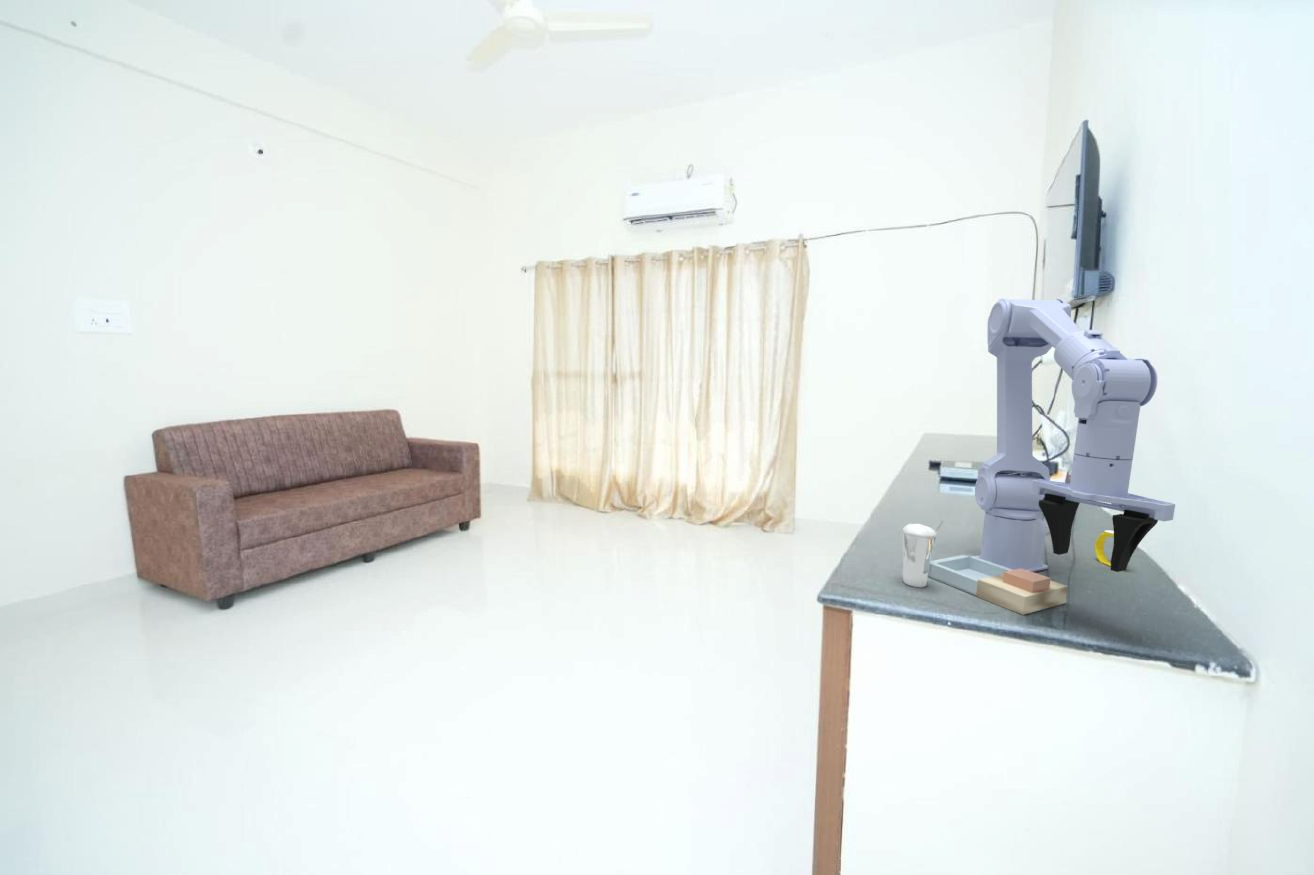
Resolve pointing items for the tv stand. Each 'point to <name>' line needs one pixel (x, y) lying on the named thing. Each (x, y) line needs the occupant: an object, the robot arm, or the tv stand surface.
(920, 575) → the milkshake
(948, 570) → the box
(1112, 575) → the tv stand surface
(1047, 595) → the beige wooden block
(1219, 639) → the tv stand surface
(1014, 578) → the tile
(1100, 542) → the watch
